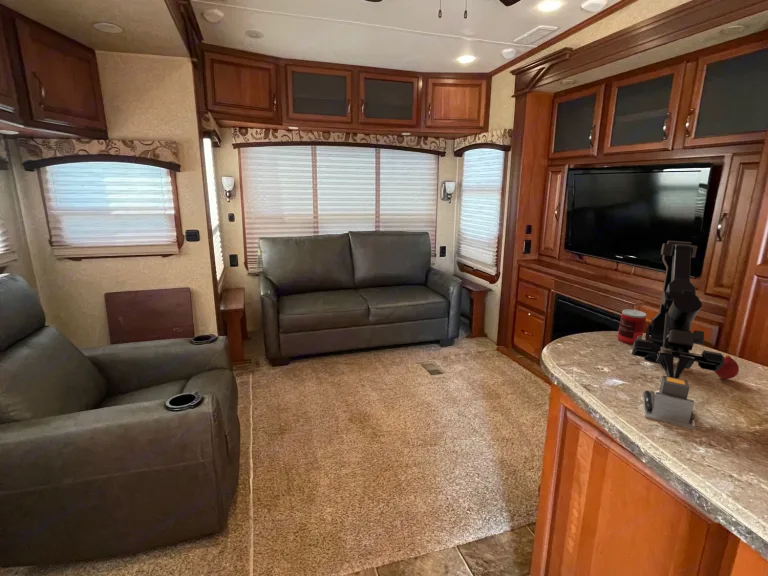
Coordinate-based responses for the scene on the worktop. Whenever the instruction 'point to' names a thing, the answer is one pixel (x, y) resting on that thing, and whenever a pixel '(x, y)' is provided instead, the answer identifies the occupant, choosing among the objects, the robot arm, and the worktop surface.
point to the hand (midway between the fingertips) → (672, 385)
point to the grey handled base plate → (669, 409)
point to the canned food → (631, 326)
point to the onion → (728, 368)
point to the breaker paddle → (674, 387)
